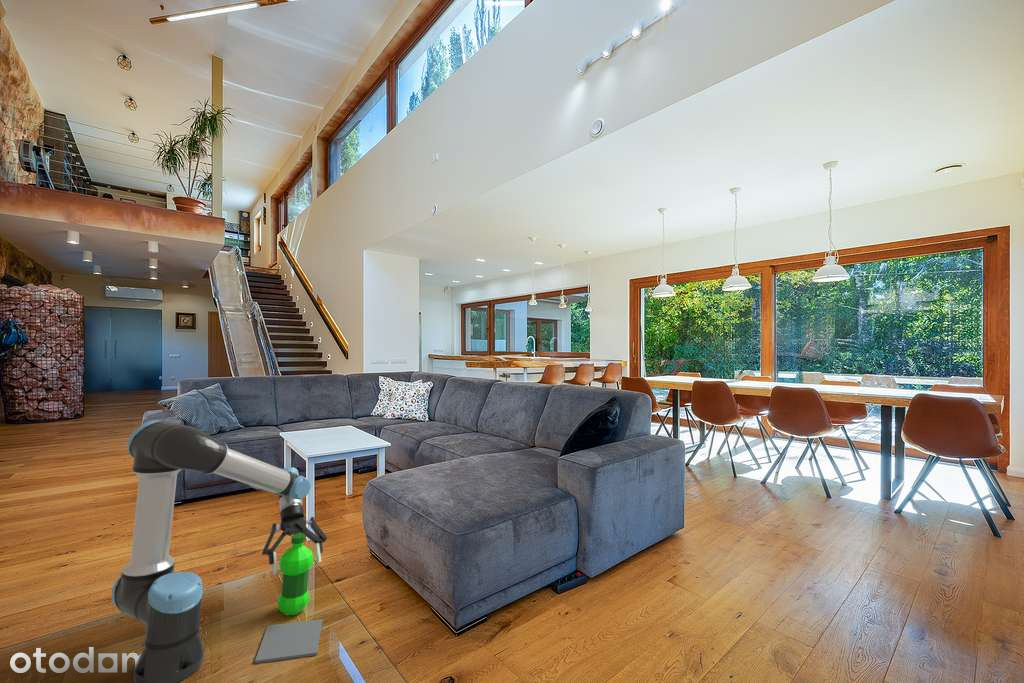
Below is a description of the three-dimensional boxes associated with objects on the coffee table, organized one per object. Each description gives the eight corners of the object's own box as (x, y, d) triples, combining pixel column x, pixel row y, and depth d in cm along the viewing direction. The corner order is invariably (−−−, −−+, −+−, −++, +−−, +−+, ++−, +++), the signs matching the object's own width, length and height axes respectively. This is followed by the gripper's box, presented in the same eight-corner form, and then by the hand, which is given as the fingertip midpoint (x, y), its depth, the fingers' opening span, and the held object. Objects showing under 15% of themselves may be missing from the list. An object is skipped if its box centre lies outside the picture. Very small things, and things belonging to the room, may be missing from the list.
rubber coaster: (254, 663, 122) (254, 660, 122) (267, 628, 137) (267, 625, 137) (316, 655, 127) (317, 652, 127) (322, 621, 142) (322, 619, 142)
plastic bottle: (307, 599, 154) (312, 527, 155) (311, 615, 145) (316, 539, 146) (275, 606, 149) (280, 532, 149) (277, 623, 140) (283, 544, 140)
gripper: (324, 508, 169) (333, 563, 157) (250, 520, 154) (253, 582, 142) (329, 498, 165) (339, 554, 153) (254, 509, 150) (257, 573, 138)
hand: (298, 568), depth 148 cm, fingers open, 13 cm apart
